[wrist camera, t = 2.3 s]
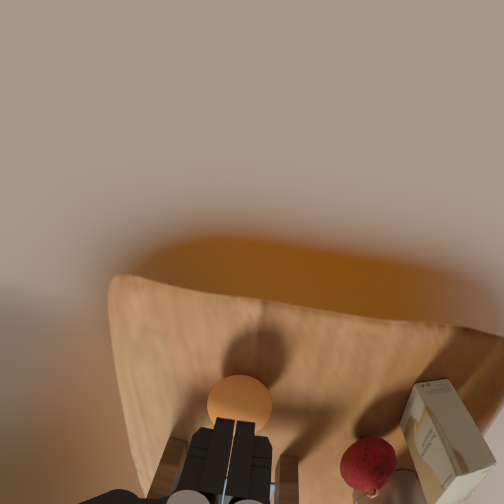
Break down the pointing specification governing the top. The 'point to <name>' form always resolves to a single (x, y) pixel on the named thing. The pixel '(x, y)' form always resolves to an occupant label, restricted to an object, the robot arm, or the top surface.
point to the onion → (368, 465)
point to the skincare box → (444, 443)
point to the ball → (240, 401)
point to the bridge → (175, 459)
